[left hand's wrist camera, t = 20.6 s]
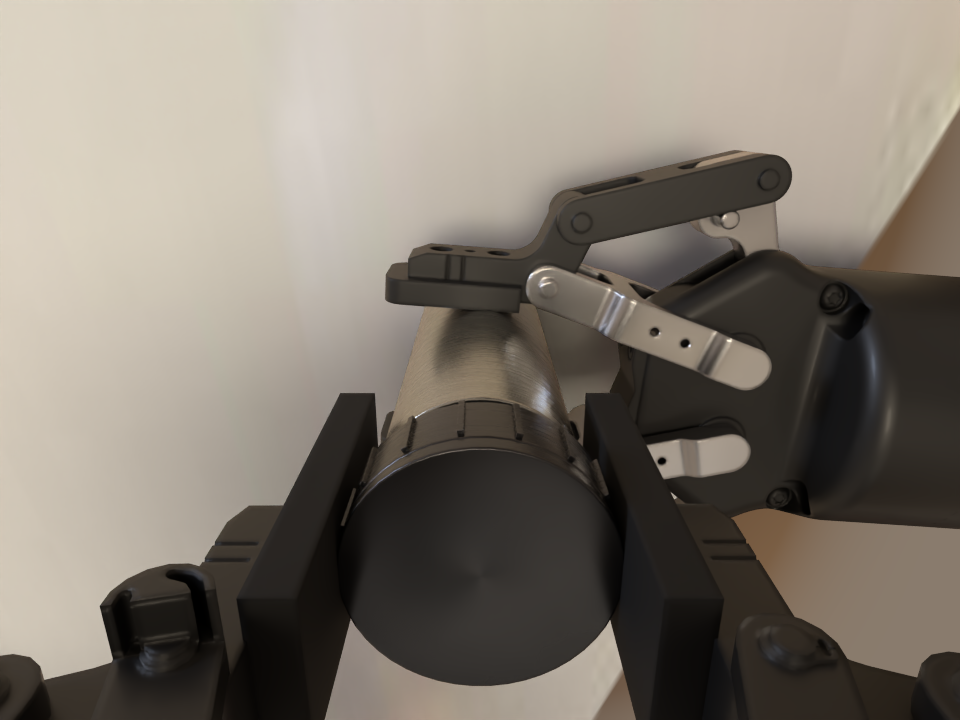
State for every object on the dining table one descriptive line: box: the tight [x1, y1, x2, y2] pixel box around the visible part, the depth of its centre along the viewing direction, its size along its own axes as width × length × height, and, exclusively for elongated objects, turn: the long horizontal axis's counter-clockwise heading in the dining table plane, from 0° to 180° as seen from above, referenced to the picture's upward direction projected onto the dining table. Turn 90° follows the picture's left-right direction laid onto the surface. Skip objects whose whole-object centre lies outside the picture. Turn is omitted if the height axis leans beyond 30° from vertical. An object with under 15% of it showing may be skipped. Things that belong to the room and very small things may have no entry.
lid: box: [337, 400, 624, 686], centre depth 11 cm, size 5×5×2 cm
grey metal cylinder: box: [387, 303, 575, 438], centre depth 18 cm, size 4×4×15 cm
